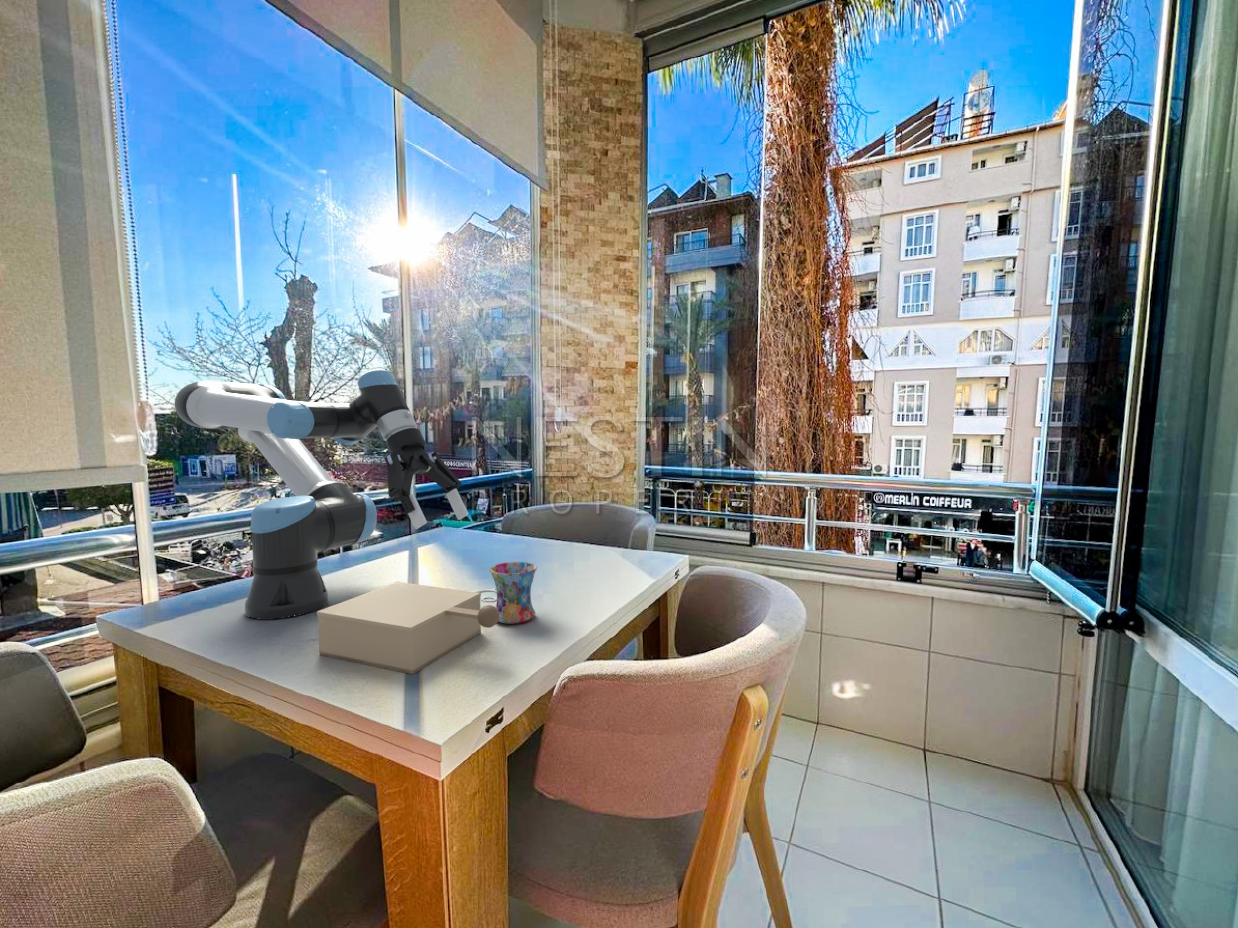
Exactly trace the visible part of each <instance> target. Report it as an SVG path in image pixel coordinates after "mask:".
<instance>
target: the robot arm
mask: <svg viewBox="0 0 1238 928" xmlns="http://www.w3.org/2000/svg"><path fill="white" fill-rule="evenodd" d="M357 386H358V391H360V393H359V394H358V395H357V396H356V397H355V398H353V399H352V400H351V401H350V402H348V403H334V402H331V403H330V402H312V401H299V400H294V399H293V400H289V399H286V396H285V395H284V394H283V393H282V391H281V390H279V389H278V388H276V387H274V386H272V385H268V384H263V383H257V382H255V383H254V382H253V383H252V382H251V383H246V382H245V383H244V382H243V383H242V382H230V381H229V382H227V381H217V380H216V381H215V380H201V381H195V382H192V383H189V384H188V385H185V386H184V387H183V388H182V387H181V389H180V390H179V391H178V392H177V394H176V396H175V398H174V409H175V412H176V414H177V415H178V418H180V419H181V420H182V421H183V422H185V423H186V424H188V425H190V426H192V427H196V428H200V429H208V430H209V429H210V430H234V431H235V432H236V434H237V435H238V436H239V438H240V439H241V440H242V441H244V442H247V443H251V444H254V446H256V448H257V449H258V450H259V452H260V453H261V454H262V455H263V457H264V458H265V459H266V460H267V462H268V463H269V465H270V466H271V467H272V468H273V469H274V471H275V472H276V473H277V475H278V476H279V477H280V478H281V479H282V480H283V482H284V483H285V485H286V486H287V487H288V488H289V490H290V491H291V492H292V493H293V496H292V495H291V496H288V497H287V496H286V497H279V498H275V499H271V500H267V501H264V502H262V503H259V504H257V505H256V506H255V507H254V508H253V509H252V510H251V515H250V516H251V517H250V526H249V529H250V532H251V547H252V563H253V564H252V567H253V568H252V569H253V578H252V581H251V584H250V587H249V589H248V594H247V597H246V600H245V603H244V614H246V615H247V616H249V617H253V618H260V619H259V620H271V619H270V618H280V619H283V618H282V617H287V618H289V617H288V616H293V617H295V616H294V615H298V616H300V615H299V614H302V615H304V614H303V613H306V614H308V613H307V612H309V613H312V612H314V610H315V611H318V610H320V609H322V608H323V607H325V606H326V605H327V604H328V603H329V593H328V589H327V588H326V585H325V582H324V579H323V577H322V575H321V573H320V571H319V567H318V565H319V564H318V553H321V552H325V551H328V550H333V549H338V548H341V547H347V546H353V545H356V544H357V543H361V542H364V541H366V540H367V539H369V538H370V537H371V536H372V535H373V533H374V531H375V530H376V526H377V521H378V520H377V517H378V516H377V515H378V514H377V508H376V504H375V503H374V501H373V500H372V498H371V497H370V496H368V495H366V494H364V493H356V494H354V493H353V492H352V490H351V489H350V488H349V487H348V486H347V485H346V484H345V483H344V482H342V481H335V480H334V479H333V478H332V477H331V476H330V475H329V473H327V471H326V469H324V467H323V466H322V465H321V463H320V462H319V461H318V460H317V459H316V458H315V456H313V454H312V453H311V452H310V451H309V449H308V448H307V447H306V446H305V445H304V443H303V441H302V440H301V439H322V438H323V439H333V440H334V441H335V442H337V443H340V444H342V445H344V446H352V445H355V444H357V443H358V442H359V441H362V440H363V439H365V438H366V437H367V436H368V435H369V434H370V433H371V432H373V430H375V429H376V428H378V431H379V432H380V435H381V438H382V440H384V441H385V445H386V447H387V449H388V451H389V454H388V455H387V456H386V457H385V458H384V461H385V464H386V467H387V468H386V469H387V487H388V488H387V490H388V497H389V498H391V499H393V500H394V501H395V502H396V503H398V502H400V503H401V505H402V507H403V509H404V511H405V513H406V514H407V515H408V517H409V518H410V521H411V523H412V525H413V528H414V530H418V529H419V528H421V527H423V526H424V525H426V524H428V520H427V519H426V517H425V515H424V513H423V510H422V509H421V506H420V504H419V502H418V500H417V498H416V496H415V494H414V493H412V494H410V493H411V488H412V487H411V486H412V483H413V479H414V476H415V475H416V474H417V475H423V476H424V477H428V478H429V479H431V480H432V481H433V483H436V485H438V486H439V487H440V488H442V490H444V491H445V492H446V494H445V496H446V498H447V500H448V502H449V504H450V507H451V509H452V510H453V512H454V514H455V517H456V519H457V520H458V521H459V520H461V519H464V518H465V517H466V516H468V515H469V512H468V509H467V508H466V505H465V504H464V500H463V497H462V496H461V494H460V491H459V488H460V487H461V486H462V482H461V481H460V480H459V478H458V477H457V476H456V474H455V473H454V472H453V471H452V470H451V469H450V468H449V466H448V465H446V463H444V461H443V460H442V459H441V457H440V456H439V453H438V452H437V451H435V450H433V451H432V452H431V453H427V451H426V450H425V446H426V440H425V438H424V436H423V434H422V432H421V430H420V429H419V426H418V424H417V423H416V420H415V418H414V416H413V414H412V412H411V410H410V407H408V405H407V403H406V402H407V401H406V400H405V398H404V395H403V393H402V391H401V388H400V386H399V384H398V383H397V381H396V379H395V378H394V376H393V374H392V373H391V372H390V371H389V370H387V369H381V368H377V369H376V368H375V369H371V370H368V371H366V372H364V373H362V374H360V376H359V377H358V380H357ZM327 602H328V603H327ZM326 603H327V604H326ZM325 604H326V605H325ZM324 605H325V606H324ZM321 607H322V608H321ZM319 608H320V609H319ZM317 609H318V610H317ZM311 611H312V612H311ZM246 615H245V616H246ZM247 616H246V617H247ZM249 617H248V618H249ZM253 618H252V619H253Z"/></svg>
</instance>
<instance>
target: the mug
mask: <svg viewBox="0 0 1238 928" xmlns="http://www.w3.org/2000/svg"><path fill="white" fill-rule="evenodd" d="M537 568H538V567H537V565H536V564H534V563H532V562H528V561H509V562H503V563H502V562H501V563H498V564H494V565H493V566H491V567H490V569H489V572H490V574H491V576H492V579H493V581H494V584H495V588H496V590H497V593H496V598H497V600H496V605H495V607H496V608H497V609H498V611H499V620H498V622H499V623H503V624H510V625H511V624H513V625H514V624H521V623H525V622H528V621H529V620H531V619H533V618H534V617H535V615H536V611H535V609H534V606H533V603H532V595H531V591H532V584H533V581H534V577H535V573H536V571H537ZM498 622H497V623H498Z"/></svg>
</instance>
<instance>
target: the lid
mask: <svg viewBox="0 0 1238 928" xmlns="http://www.w3.org/2000/svg"><path fill="white" fill-rule="evenodd" d="M470 591H471V590H469V591H468V590H461V589H454V588H447V587H440V586H433V585H431V586H430V585H424V584H423V585H422V584H417V583H410V582H408V583H407V582H401V581H396V582H393V583H391V584H387V585H385V586H382V587H379V588H377V589H374V590H372V591H368V592H366V593H364V594H360V595H357V596H355V597H353V598H350V599H346V600H344V601H341V602H339V603H337V604H333V605H331V606H328V607H325V608H323V609H319V610H316V615H317V616H318V615H319V616H325V617H331V618H336V619H342V620H348V621H354V622H359V623H365V624H371V625H377V626H382V627H388V628H394V629H400V630H406V631H413V630H415V629H417V628H419V627H421V626H423V625H425V624H427V623H429V622H431V621H433V620H435V619H437V618H438V617H440V616H442V615H444V614H448V615H455V616H461V617H468V618H474V619H478V622H479V624H480V625H481V627H483V628H487V629H488V628H492V627H494V626H496V624H498V620H499V611H498V609H497V608H496V606H494V605H492V604H488V605H484V606H482V607H480V610H479V611H477V610H471V609H464V608H458V607H460V606H462V605H464V604H466V603H468V602H470V601H472V600H474V599H476V598H478V597H480V596H482V594H481V593H482V592H480V593H477V592H470Z"/></svg>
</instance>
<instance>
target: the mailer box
mask: <svg viewBox="0 0 1238 928" xmlns="http://www.w3.org/2000/svg"><path fill="white" fill-rule="evenodd" d="M458 608H464V609H471V610H477V611H479V610H480V609H481V598H480V597H478V598H476V599H474V600H472V601H470V602H468V603H466V604H464V605H462V606H460V607H458ZM317 626H318V649H319V650H318V651H319V652H318V653H319V656H323V657H328V658H333V659H337V660H338V659H339V660H342V661H348V662H351V663H357V664H361V665H366V666H371V667H375V668H376V667H377V668H382V669H385V670H390V671H395V672H401V673H404V674H409V675H414V674H416V673H418V672H419V671H421V670H423V669H424V668H426V667H427V666H429V665H431V664H432V663H434V662H436V661H437V660H439V659H441V658H442V657H444V656H446V655H448V653H451V652H452V651H454V650H456V649H457V648H459V647H460V646H462V645H463V644H465V643H467V642H468V641H470V640H471V639H473V638H475V637H476V636H478V635H480V634H481V632H482V631H481V630H482V629H481V628H482V626H481V625H480V624H479V622H478V619H474V618H468V617H461V616H455V615H448V614H444V615H442V616H440V617H438V618H437V619H435V620H433V621H431V622H429V623H427V624H425V625H423V626H421V627H419V628H417V629H415V630H413V631H406V630H400V629H394V628H388V627H382V626H377V625H371V624H365V623H359V622H354V621H348V620H342V619H336V618H331V617H325V616H319V615H317Z"/></svg>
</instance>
